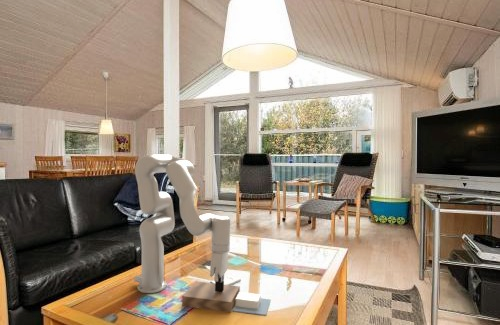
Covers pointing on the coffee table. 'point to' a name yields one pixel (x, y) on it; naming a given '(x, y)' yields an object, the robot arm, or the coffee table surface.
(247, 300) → the white rectangular block
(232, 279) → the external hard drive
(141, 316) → the coffee table surface
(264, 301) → the mat
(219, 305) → the block
